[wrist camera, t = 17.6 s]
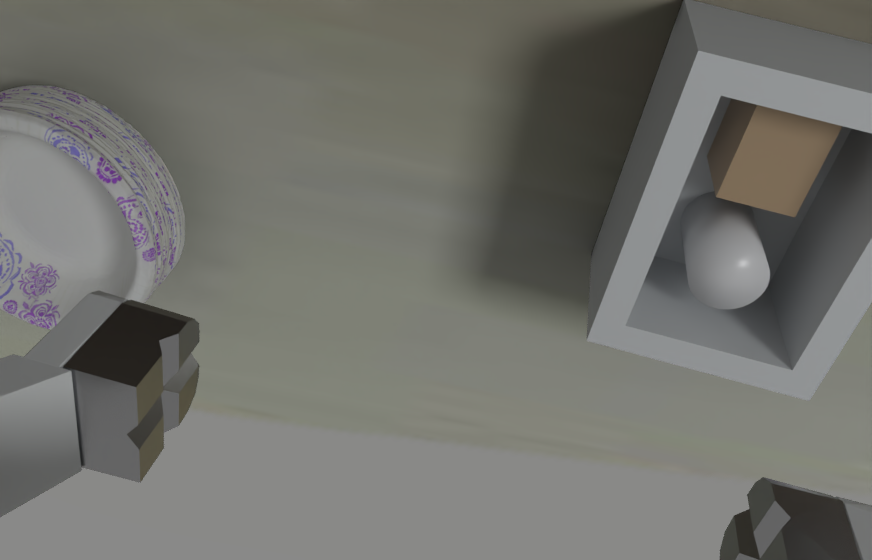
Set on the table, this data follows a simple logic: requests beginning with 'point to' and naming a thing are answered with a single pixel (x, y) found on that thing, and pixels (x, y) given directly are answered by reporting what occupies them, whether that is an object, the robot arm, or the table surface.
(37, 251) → the paper bowls
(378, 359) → the table surface
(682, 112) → the storage box
